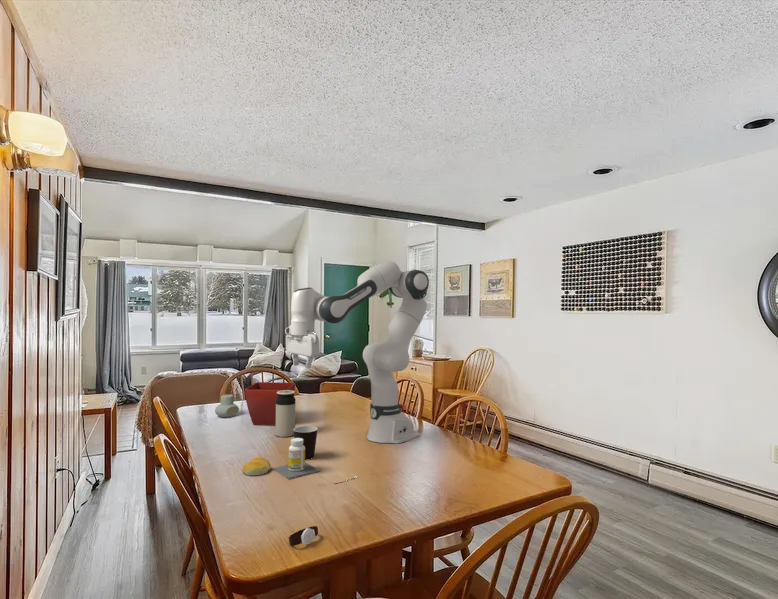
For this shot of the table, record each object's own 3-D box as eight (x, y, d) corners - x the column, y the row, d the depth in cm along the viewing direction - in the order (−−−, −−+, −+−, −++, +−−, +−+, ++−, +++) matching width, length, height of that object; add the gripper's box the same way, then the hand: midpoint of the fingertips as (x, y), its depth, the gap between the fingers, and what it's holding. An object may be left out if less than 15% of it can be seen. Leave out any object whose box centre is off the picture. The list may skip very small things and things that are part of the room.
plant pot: (286, 428, 201) (286, 389, 202) (243, 427, 202) (243, 389, 202) (295, 417, 221) (296, 382, 221) (256, 416, 221) (256, 382, 221)
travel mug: (292, 437, 187) (293, 393, 187) (273, 437, 187) (273, 393, 187) (296, 432, 195) (297, 390, 195) (278, 431, 195) (278, 389, 195)
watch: (296, 552, 101) (296, 535, 101) (283, 544, 104) (283, 528, 104) (322, 538, 107) (323, 523, 107) (309, 532, 110) (310, 516, 110)
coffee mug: (312, 462, 158) (312, 433, 158) (288, 460, 160) (289, 431, 160) (323, 451, 169) (323, 424, 170) (301, 449, 171) (302, 423, 171)
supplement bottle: (295, 473, 146) (295, 443, 146) (284, 469, 149) (285, 439, 150) (308, 468, 150) (308, 439, 150) (297, 464, 154) (298, 436, 154)
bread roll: (238, 476, 145) (238, 463, 145) (251, 466, 154) (251, 454, 154) (262, 478, 143) (262, 465, 144) (274, 468, 152) (274, 456, 152)
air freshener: (222, 419, 214) (223, 398, 215) (211, 417, 219) (212, 396, 219) (241, 415, 224) (242, 394, 224) (230, 412, 228) (231, 392, 228)
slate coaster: (303, 462, 157) (303, 461, 157) (319, 471, 149) (319, 470, 149) (273, 469, 150) (273, 467, 150) (288, 479, 142) (288, 477, 142)
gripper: (324, 331, 167) (323, 369, 166) (297, 328, 182) (297, 363, 182) (308, 331, 163) (308, 370, 162) (283, 329, 178) (282, 364, 178)
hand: (302, 366), depth 172 cm, fingers open, 8 cm apart
